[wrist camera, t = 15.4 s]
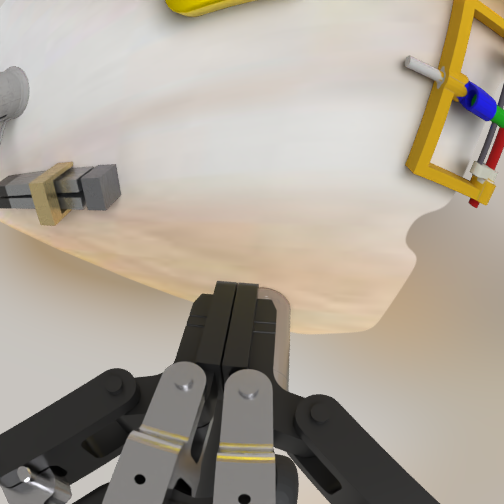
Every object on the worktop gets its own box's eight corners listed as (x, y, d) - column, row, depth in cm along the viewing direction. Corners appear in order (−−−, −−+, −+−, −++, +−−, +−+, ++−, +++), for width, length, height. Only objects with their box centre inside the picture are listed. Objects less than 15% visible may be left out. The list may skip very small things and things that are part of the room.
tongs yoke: (115, 164, 37) (99, 177, 34) (121, 194, 40) (105, 210, 36) (98, 165, 38) (80, 178, 34) (103, 194, 40) (87, 210, 36)
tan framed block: (72, 161, 37) (42, 182, 31) (81, 201, 41) (55, 225, 35) (57, 163, 37) (28, 183, 32) (66, 201, 41) (40, 225, 35)
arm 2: (96, 183, 39) (80, 197, 35) (99, 194, 40) (83, 209, 36) (11, 186, 40) (-5, 198, 37) (14, 195, 41) (-2, 208, 38)
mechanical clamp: (558, 30, 12) (496, 225, 30) (530, 27, 18) (475, 202, 35) (447, -58, 12) (383, 180, 29) (425, -46, 17) (369, 161, 35)
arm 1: (93, 166, 37) (76, 179, 34) (95, 178, 39) (79, 192, 35) (8, 175, 39) (-8, 187, 35) (11, 185, 40) (-5, 197, 36)
